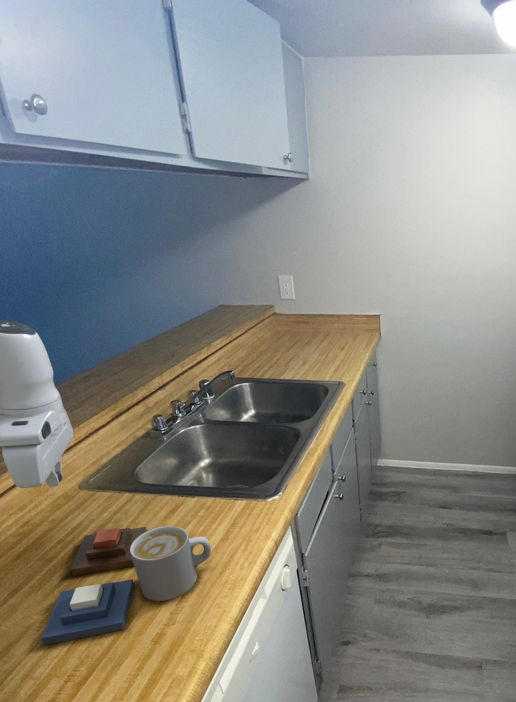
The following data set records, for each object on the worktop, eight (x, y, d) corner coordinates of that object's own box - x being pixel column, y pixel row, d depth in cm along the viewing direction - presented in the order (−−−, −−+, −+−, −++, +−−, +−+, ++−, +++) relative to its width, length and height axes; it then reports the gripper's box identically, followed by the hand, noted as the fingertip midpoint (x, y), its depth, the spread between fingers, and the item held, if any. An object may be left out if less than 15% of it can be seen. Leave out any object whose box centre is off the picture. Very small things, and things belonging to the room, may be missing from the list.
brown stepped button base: (72, 576, 94) (67, 562, 92) (86, 541, 103) (82, 529, 101) (139, 565, 97) (135, 551, 96) (147, 532, 106) (144, 520, 105)
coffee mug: (140, 606, 88) (127, 565, 83) (143, 571, 96) (132, 532, 91) (216, 588, 92) (208, 548, 88) (213, 556, 100) (206, 518, 96)
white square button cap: (72, 611, 82) (69, 604, 81) (78, 595, 86) (75, 587, 85) (98, 606, 83) (95, 599, 83) (103, 590, 87) (101, 583, 86)
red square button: (95, 549, 96) (93, 542, 96) (100, 537, 100) (97, 530, 99) (117, 546, 98) (115, 539, 97) (121, 534, 101) (119, 527, 100)
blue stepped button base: (44, 645, 79) (37, 630, 78) (63, 598, 89) (58, 584, 87) (124, 629, 83) (119, 615, 81) (134, 585, 92) (130, 571, 91)
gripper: (33, 395, 90) (53, 458, 97) (-13, 442, 73) (15, 515, 80) (72, 393, 92) (89, 455, 99) (35, 439, 75) (59, 510, 81)
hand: (56, 482), depth 89 cm, fingers closed
